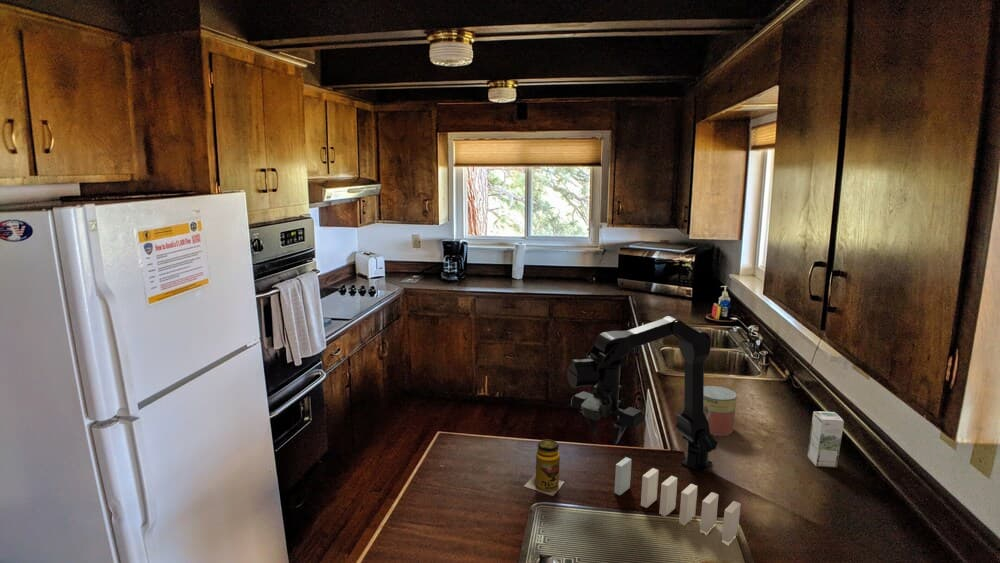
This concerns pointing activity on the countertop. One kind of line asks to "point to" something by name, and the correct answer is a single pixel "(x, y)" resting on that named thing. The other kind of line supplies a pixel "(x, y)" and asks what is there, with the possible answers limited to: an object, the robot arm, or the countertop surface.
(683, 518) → the domino
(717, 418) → the canned food
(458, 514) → the countertop surface
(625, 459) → the domino
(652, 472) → the domino
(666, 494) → the domino
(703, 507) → the domino
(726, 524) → the domino
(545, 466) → the condiment
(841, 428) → the syrup box
